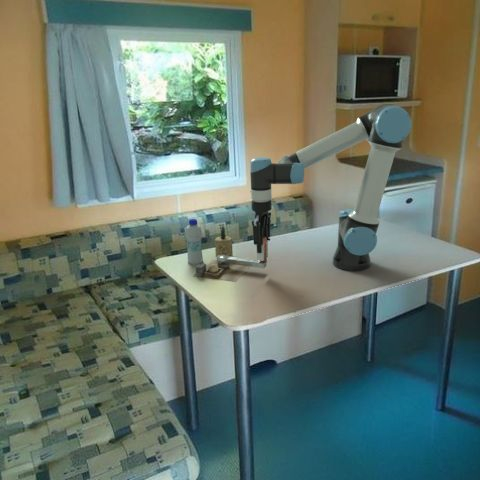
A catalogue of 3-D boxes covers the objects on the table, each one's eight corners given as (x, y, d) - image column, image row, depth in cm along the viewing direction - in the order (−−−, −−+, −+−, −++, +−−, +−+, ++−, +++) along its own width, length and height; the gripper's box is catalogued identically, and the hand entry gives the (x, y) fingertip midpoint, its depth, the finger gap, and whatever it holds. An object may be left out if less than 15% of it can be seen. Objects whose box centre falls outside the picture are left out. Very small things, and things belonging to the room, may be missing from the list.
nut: (220, 272, 192) (220, 263, 191) (216, 276, 189) (216, 266, 188) (211, 271, 194) (210, 262, 192) (207, 275, 190) (206, 265, 189)
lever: (215, 263, 196) (213, 234, 192) (220, 259, 200) (219, 231, 196) (264, 269, 188) (264, 240, 184) (268, 265, 192) (268, 236, 188)
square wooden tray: (252, 267, 201) (252, 254, 199) (235, 285, 184) (235, 272, 182) (212, 262, 207) (211, 250, 205) (192, 279, 190) (192, 266, 188)
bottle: (206, 262, 207) (203, 217, 200) (198, 268, 201) (195, 222, 195) (192, 260, 210) (189, 216, 203) (184, 266, 204) (181, 220, 197)
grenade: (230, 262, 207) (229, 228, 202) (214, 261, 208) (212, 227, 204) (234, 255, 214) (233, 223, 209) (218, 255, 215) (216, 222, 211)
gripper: (260, 193, 190) (261, 250, 198) (242, 204, 176) (244, 264, 184) (278, 195, 187) (279, 252, 195) (262, 206, 173) (263, 267, 181)
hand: (262, 258), depth 189 cm, fingers closed on lever, 3 cm apart
